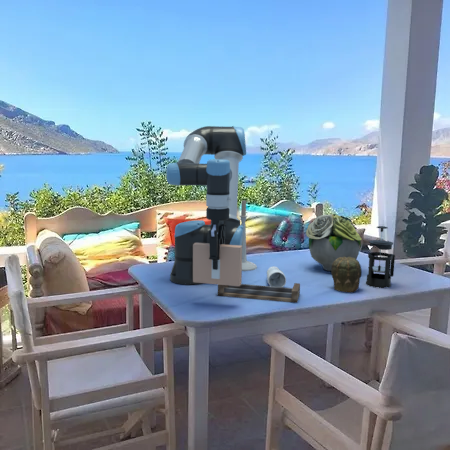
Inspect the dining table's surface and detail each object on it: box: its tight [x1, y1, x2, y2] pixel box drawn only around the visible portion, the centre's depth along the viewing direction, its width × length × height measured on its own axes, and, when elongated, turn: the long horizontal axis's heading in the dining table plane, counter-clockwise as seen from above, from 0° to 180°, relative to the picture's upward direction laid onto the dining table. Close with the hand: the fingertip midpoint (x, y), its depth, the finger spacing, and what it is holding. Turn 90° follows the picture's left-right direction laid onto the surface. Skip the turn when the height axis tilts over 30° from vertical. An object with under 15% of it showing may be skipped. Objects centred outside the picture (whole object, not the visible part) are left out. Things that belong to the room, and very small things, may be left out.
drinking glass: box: [266, 265, 287, 288], centre depth 185 cm, size 7×7×15 cm
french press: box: [365, 225, 396, 289], centre depth 186 cm, size 12×9×23 cm
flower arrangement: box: [305, 213, 363, 272], centre depth 208 cm, size 25×25×24 cm
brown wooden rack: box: [217, 282, 301, 304], centre depth 171 cm, size 28×10×4 cm, turn 76°
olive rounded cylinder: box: [330, 257, 362, 293], centre depth 180 cm, size 11×11×12 cm
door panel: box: [193, 243, 243, 286], centre depth 159 cm, size 16×3×13 cm, turn 76°
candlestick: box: [239, 200, 258, 272], centre depth 209 cm, size 13×13×30 cm
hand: (217, 276), depth 160 cm, fingers closed on door panel, 3 cm apart
